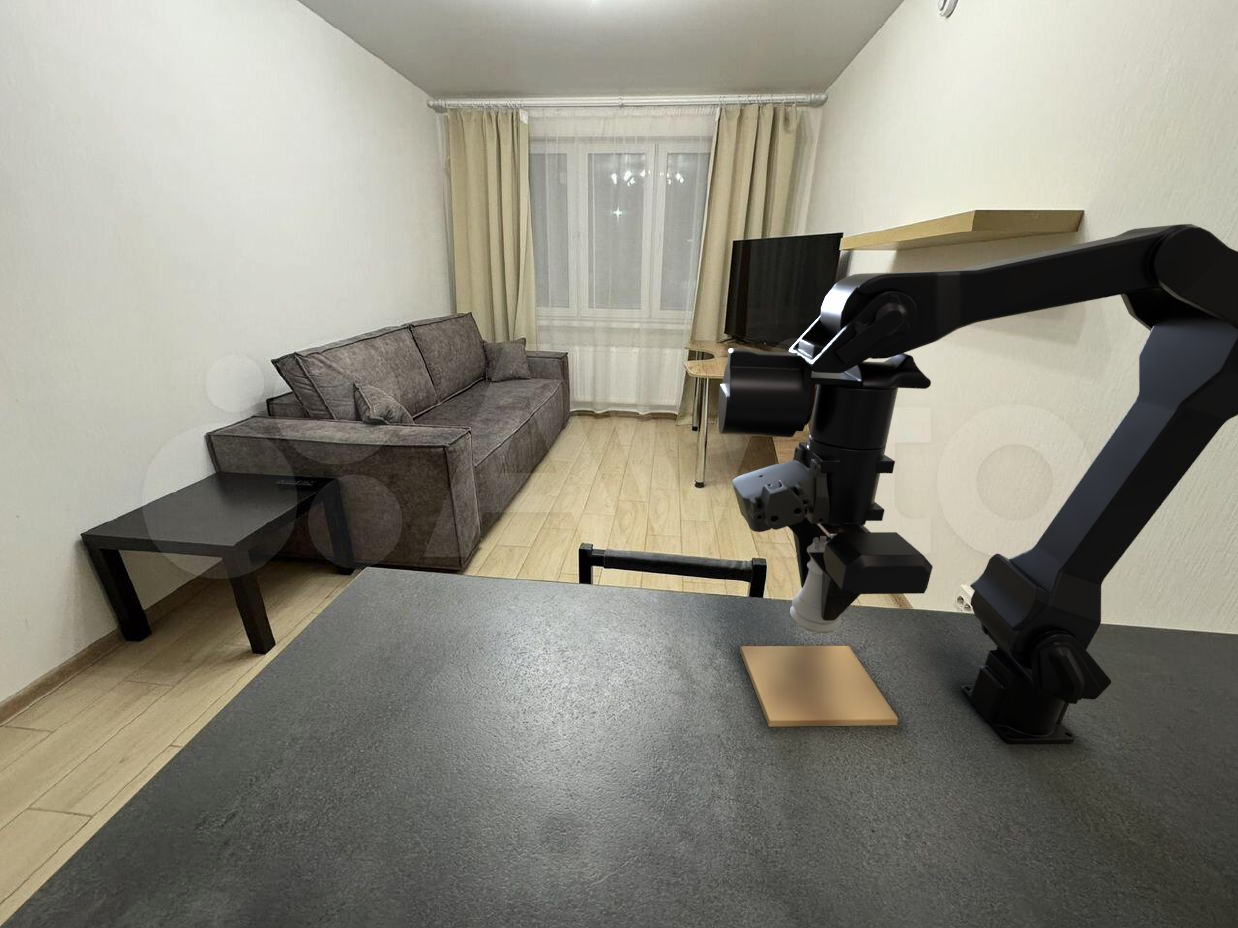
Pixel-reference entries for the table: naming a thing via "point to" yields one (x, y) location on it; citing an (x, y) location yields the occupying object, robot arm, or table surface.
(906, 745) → the table surface
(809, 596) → the white chess queen
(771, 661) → the coaster board
